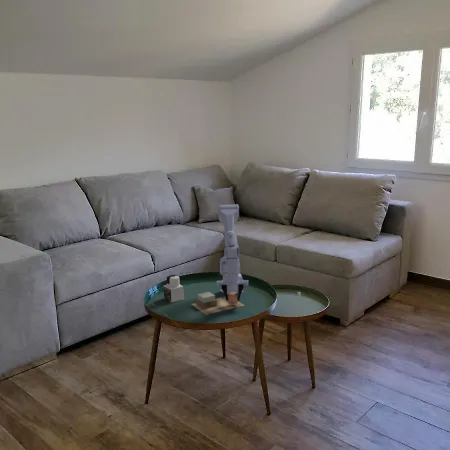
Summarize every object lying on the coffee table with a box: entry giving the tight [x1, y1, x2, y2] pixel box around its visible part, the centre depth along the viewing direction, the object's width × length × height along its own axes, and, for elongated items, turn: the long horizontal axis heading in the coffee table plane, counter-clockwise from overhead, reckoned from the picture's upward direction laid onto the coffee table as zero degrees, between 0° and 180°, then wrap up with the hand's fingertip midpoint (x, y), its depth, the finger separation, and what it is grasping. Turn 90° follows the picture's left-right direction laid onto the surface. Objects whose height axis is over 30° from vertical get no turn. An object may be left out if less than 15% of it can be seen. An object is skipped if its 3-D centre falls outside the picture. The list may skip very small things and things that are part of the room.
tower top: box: [197, 291, 216, 303], centre depth 225 cm, size 6×6×2 cm
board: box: [191, 296, 245, 316], centre depth 226 cm, size 20×15×1 cm
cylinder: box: [227, 292, 239, 304], centre depth 224 cm, size 5×5×4 cm
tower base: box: [195, 298, 217, 309], centre depth 226 cm, size 7×7×2 cm
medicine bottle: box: [163, 274, 185, 303], centre depth 234 cm, size 7×7×12 cm
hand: (232, 300), depth 224 cm, fingers closed on cylinder, 5 cm apart
